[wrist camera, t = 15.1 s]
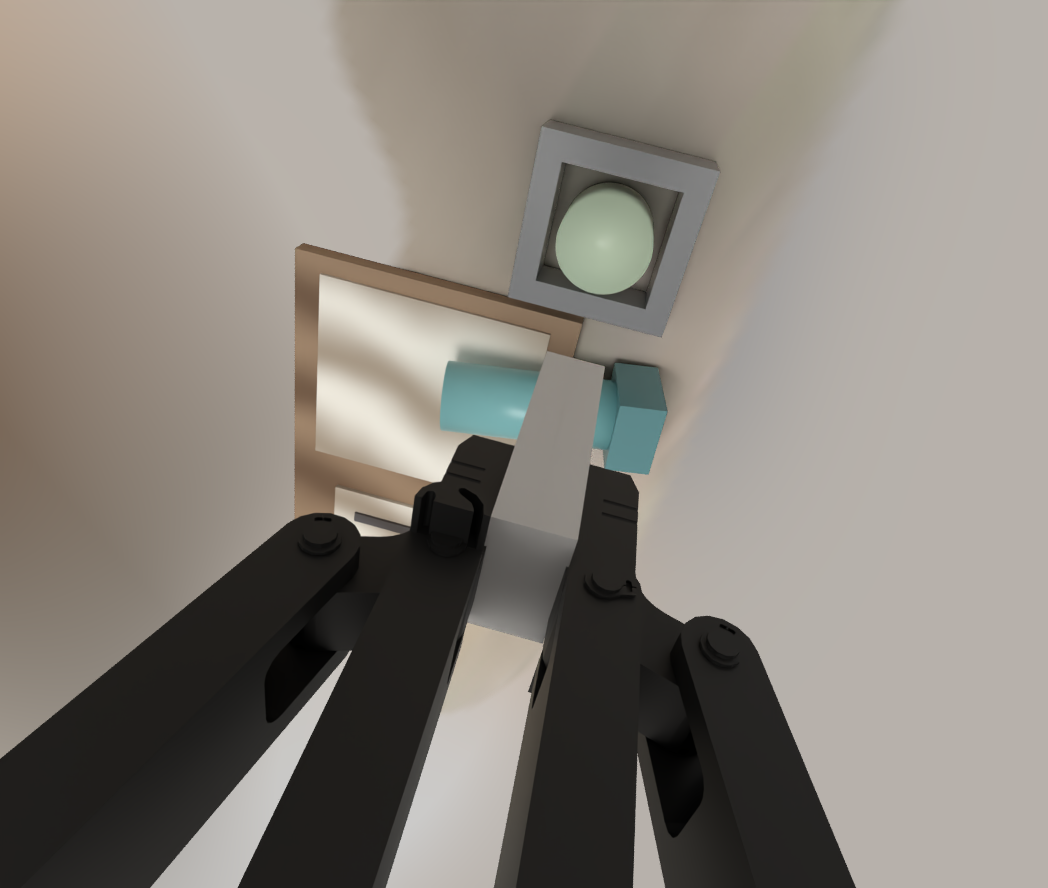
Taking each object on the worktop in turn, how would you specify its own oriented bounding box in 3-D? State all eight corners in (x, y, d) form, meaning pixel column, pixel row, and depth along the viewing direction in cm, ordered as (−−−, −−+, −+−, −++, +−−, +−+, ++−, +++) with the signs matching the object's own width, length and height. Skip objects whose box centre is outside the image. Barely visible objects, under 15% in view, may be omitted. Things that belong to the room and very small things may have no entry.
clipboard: (303, 243, 36) (290, 250, 35) (584, 316, 35) (581, 327, 34) (301, 513, 47) (291, 526, 46) (513, 572, 46) (510, 587, 45)
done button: (575, 172, 31) (568, 185, 28) (666, 195, 30) (666, 210, 28) (554, 262, 33) (546, 280, 31) (638, 283, 33) (636, 304, 30)
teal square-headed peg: (440, 384, 32) (667, 411, 32) (452, 342, 35) (657, 367, 36) (438, 449, 35) (648, 474, 35) (449, 405, 38) (641, 428, 38)
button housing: (549, 119, 30) (541, 126, 28) (716, 161, 30) (720, 171, 28) (516, 281, 35) (507, 297, 33) (661, 318, 35) (661, 337, 33)
